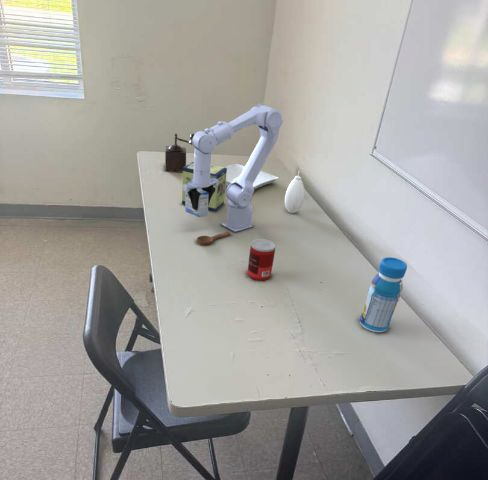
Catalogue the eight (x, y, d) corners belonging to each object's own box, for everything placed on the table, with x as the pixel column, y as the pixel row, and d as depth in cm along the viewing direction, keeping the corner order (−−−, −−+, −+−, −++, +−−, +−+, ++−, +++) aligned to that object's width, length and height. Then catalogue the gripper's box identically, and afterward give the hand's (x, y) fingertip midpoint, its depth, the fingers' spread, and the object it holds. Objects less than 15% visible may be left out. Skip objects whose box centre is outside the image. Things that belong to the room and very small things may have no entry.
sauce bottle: (292, 217, 186) (299, 174, 176) (279, 210, 191) (285, 168, 180) (304, 213, 191) (312, 171, 180) (291, 207, 195) (298, 166, 185)
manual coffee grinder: (164, 171, 217) (164, 132, 206) (164, 164, 226) (164, 127, 215) (196, 173, 219) (197, 135, 209) (195, 166, 228) (196, 129, 218)
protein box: (215, 212, 182) (218, 174, 173) (181, 204, 185) (182, 166, 176) (224, 204, 190) (227, 167, 181) (191, 196, 193) (192, 160, 184)
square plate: (235, 170, 231) (235, 162, 229) (278, 184, 219) (280, 176, 217) (201, 180, 212) (201, 172, 210) (247, 196, 201) (248, 188, 198)
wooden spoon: (224, 231, 167) (224, 229, 166) (233, 237, 164) (234, 234, 164) (193, 241, 158) (193, 238, 157) (203, 246, 155) (203, 243, 154)
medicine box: (184, 211, 163) (184, 188, 158) (194, 209, 166) (194, 186, 161) (199, 217, 159) (199, 193, 154) (208, 215, 162) (208, 191, 157)
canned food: (273, 272, 145) (278, 242, 139) (266, 283, 139) (271, 252, 133) (251, 267, 147) (255, 236, 140) (243, 277, 141) (247, 246, 134)
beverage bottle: (370, 335, 122) (392, 272, 110) (353, 318, 128) (371, 256, 116) (394, 330, 125) (418, 268, 113) (376, 314, 131) (396, 253, 119)
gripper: (210, 163, 159) (208, 200, 166) (177, 169, 150) (177, 207, 158) (223, 169, 155) (220, 206, 163) (191, 175, 146) (189, 214, 154)
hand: (200, 207), depth 160 cm, fingers closed on medicine box, 4 cm apart
